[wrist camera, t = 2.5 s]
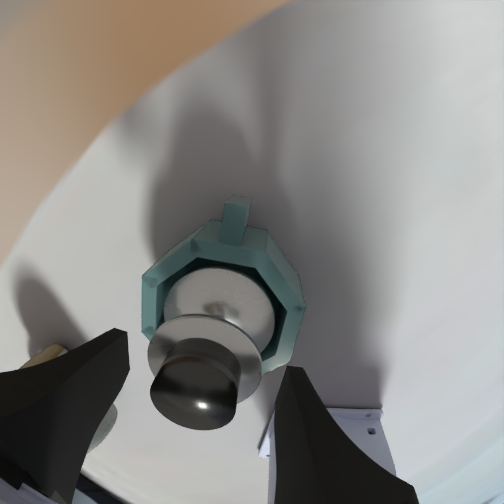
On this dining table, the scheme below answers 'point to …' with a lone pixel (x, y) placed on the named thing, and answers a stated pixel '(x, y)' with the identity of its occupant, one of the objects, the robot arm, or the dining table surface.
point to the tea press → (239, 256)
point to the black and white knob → (210, 346)
